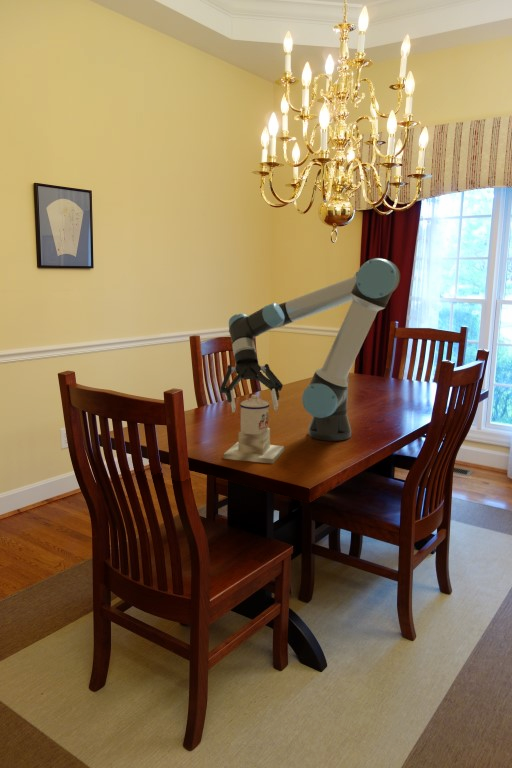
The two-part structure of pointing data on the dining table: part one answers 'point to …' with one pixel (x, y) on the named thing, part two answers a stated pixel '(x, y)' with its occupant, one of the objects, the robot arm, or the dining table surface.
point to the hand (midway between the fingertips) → (255, 409)
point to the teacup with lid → (254, 416)
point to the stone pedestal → (254, 449)
